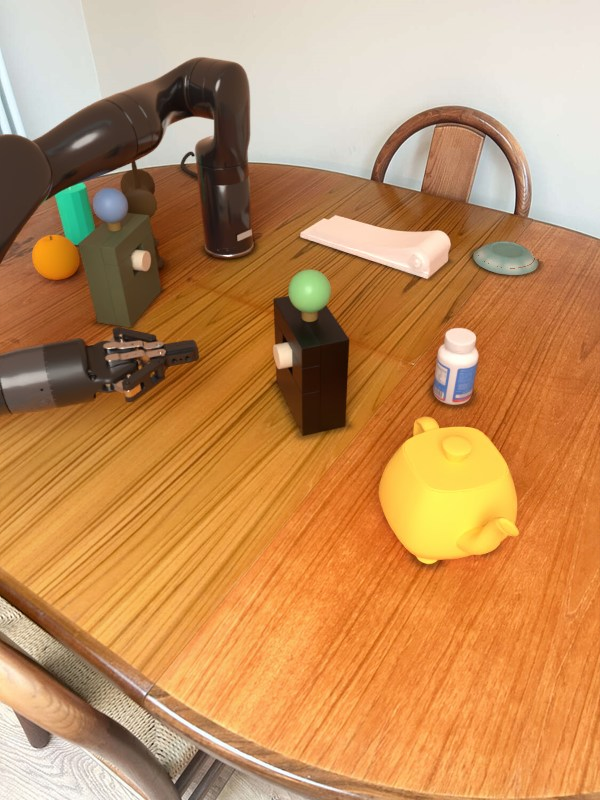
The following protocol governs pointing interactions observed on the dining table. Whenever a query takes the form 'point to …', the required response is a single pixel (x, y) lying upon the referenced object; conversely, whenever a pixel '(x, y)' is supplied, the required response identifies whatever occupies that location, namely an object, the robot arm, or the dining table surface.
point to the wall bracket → (384, 244)
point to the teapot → (448, 493)
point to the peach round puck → (140, 260)
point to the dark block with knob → (312, 354)
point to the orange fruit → (55, 257)
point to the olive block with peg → (119, 261)
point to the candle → (75, 213)
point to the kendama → (141, 198)
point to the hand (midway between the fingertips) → (197, 349)
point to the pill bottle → (456, 367)
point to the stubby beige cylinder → (282, 355)
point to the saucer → (505, 258)
